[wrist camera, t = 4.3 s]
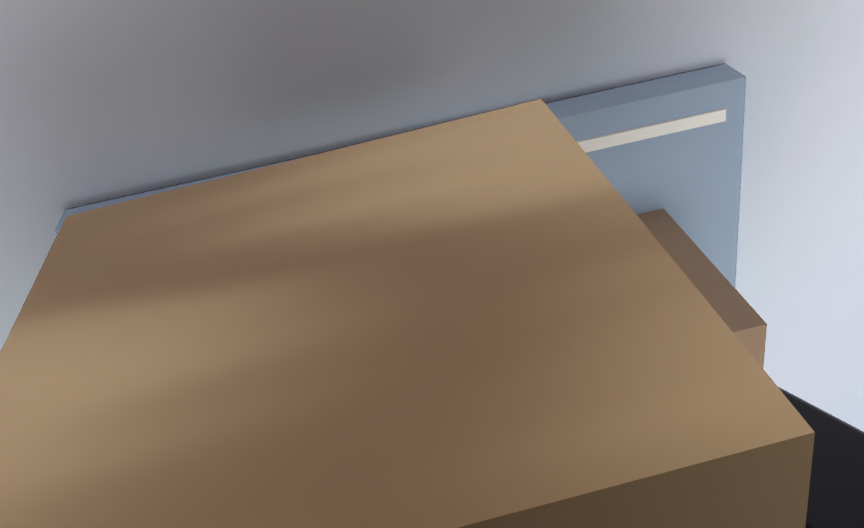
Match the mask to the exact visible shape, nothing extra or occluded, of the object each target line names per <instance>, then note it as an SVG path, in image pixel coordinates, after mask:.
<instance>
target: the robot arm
mask: <svg viewBox="0 0 864 528" xmlns="http://www.w3.org/2000/svg"><path fill="white" fill-rule="evenodd" d="M777 387H778V386H777ZM778 388H779V387H778ZM779 389H780V390H781V392H782V393H783V394H784V395H785V396H786V398H787V399H788V400H789V401H790V403H791V404H792V405H793V406H794V407H795V409H796V410H797V411H798V412H799V414H800V415H801V416H802V417H803V418H804V420H805V421H806V422H807V423H808V425H809V426H810V427H811V428H812V429H813V431H814V432H815V436H814V446H813V456H812V466H811V476H810V486H809V496H808V506H807V516H806V526H805V528H864V432H863V431H861V430H859V429H857V428H855V427H853V426H851V425H849V424H848V423H846V422H844V421H842V420H840V419H838V418H836V417H834V416H832V415H831V414H829V413H827V412H825V411H823V410H821V409H819V408H817V407H815V406H813V405H812V404H810V403H808V402H806V401H804V400H802V399H800V398H798V397H796V396H795V395H793V394H791V393H789V392H787V391H785V390H783V389H781V388H779Z"/></svg>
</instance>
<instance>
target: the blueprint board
mask: <svg viewBox="0 0 864 528" xmlns="http://www.w3.org/2000/svg"><path fill="white" fill-rule="evenodd" d="M745 85H746V77H745V76H744V75H742V74H741V73H739V72H738V71H736V70H734V69H733V68H731V67H730V66H728V65H727V64H722V65H718V66H713V67H709V68H704V69H700V70H695V71H691V72H686V73H681V74H677V75H672V76H668V77H663V78H659V79H654V80H650V81H645V82H641V83H636V84H632V85H627V86H623V87H618V88H614V89H609V90H605V91H600V92H596V93H591V94H587V95H582V96H578V97H573V98H569V99H564V100H560V101H555V102H550V103H546V105H547V107H548V108H549V109H550V110H551V111H552V113H553V114H554V115H555V116H556V117H557V119H558V120H559V121H560V122H561V124H562V125H563V126H564V127H565V128H566V130H567V131H568V132H569V133H570V135H571V136H572V137H573V138H574V139H575V141H576V142H577V143H578V144H579V145H580V147H581V148H582V149H583V150H584V152H585V153H586V154H587V155H588V156H589V158H590V159H591V160H592V161H593V163H594V164H595V165H596V166H597V167H598V169H599V170H600V171H601V172H602V174H603V175H604V176H605V177H606V178H607V180H608V181H609V182H610V183H611V184H612V186H613V187H614V188H615V189H616V191H617V192H618V193H619V194H620V195H621V197H622V198H623V199H624V200H625V202H626V203H627V204H628V205H629V206H630V208H631V209H632V210H633V211H634V213H635V214H636V215H637V216H638V217H639V219H640V220H641V221H642V222H643V223H644V225H645V226H646V227H647V228H648V230H649V231H650V232H651V233H652V234H653V236H654V237H655V238H656V239H657V241H658V242H659V243H660V244H661V245H662V247H663V248H664V249H665V250H666V251H667V253H668V254H669V255H670V256H671V258H672V259H673V260H674V261H675V262H676V264H677V265H678V266H679V267H680V269H681V270H682V271H683V272H684V273H685V275H686V276H687V277H688V278H689V280H690V281H691V282H692V283H693V284H694V286H695V287H696V288H697V289H698V290H699V292H700V293H701V294H702V295H703V297H704V298H705V299H706V300H707V301H708V303H709V304H710V305H711V306H712V308H713V309H714V310H715V311H716V312H717V314H718V315H719V316H720V317H721V319H722V320H723V321H724V322H725V323H726V325H727V326H728V327H729V328H730V329H731V331H732V332H733V333H734V334H735V336H736V337H737V338H738V339H739V340H740V342H741V343H742V344H743V345H744V347H745V348H746V349H747V350H748V351H749V353H750V354H751V355H752V356H753V357H754V359H755V360H756V361H757V362H758V364H759V365H760V366H761V367H762V368H763V364H764V352H765V339H766V327H767V324H766V323H765V322H764V321H763V319H762V318H761V317H760V316H759V315H758V314H757V313H756V312H755V310H754V309H753V308H752V307H751V306H750V305H749V304H748V303H747V301H746V300H745V299H744V298H743V297H742V296H741V295H740V294H739V292H738V291H737V290H736V289H735V280H736V260H737V241H738V221H739V202H740V182H741V163H742V144H743V124H744V105H745ZM311 156H312V155H311ZM307 157H308V156H307ZM302 158H304V157H302ZM297 159H300V158H297ZM293 160H296V159H293ZM288 161H292V160H288ZM288 161H284V162H288ZM284 162H279V163H275V164H270V165H266V166H261V167H257V168H252V169H248V170H243V171H239V172H234V173H230V174H225V175H221V176H216V177H212V178H207V179H203V180H198V181H194V182H189V183H185V184H180V185H176V186H171V187H166V188H162V189H157V190H153V191H148V192H144V193H139V194H135V195H130V196H126V197H121V198H117V199H112V200H108V201H103V202H99V203H94V204H90V205H85V206H81V207H76V208H72V209H67V210H65V212H64V214H63V216H62V218H61V220H60V222H59V224H58V226H57V228H56V230H55V231H56V233H57V235H58V233H59V231H60V229H61V227H62V225H63V223H64V220H65V218H66V216H70V215H74V214H78V213H82V212H86V211H90V210H94V209H98V208H102V207H106V206H110V205H114V204H118V203H122V202H126V201H130V200H134V199H138V198H142V197H146V196H150V195H154V194H158V193H162V192H167V191H171V190H175V189H179V188H183V187H187V186H191V185H195V184H199V183H203V182H207V181H211V180H215V179H219V178H223V177H227V176H231V175H235V174H239V173H243V172H247V171H251V170H255V169H259V168H263V167H267V166H271V165H276V164H280V163H284Z"/></svg>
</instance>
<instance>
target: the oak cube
mask: <svg viewBox="0 0 864 528" xmlns="http://www.w3.org/2000/svg"><path fill="white" fill-rule="evenodd" d="M814 436H815V432H814V431H813V429H812V428H811V427H810V426H809V425H808V423H807V422H806V421H805V420H804V418H803V417H802V416H801V415H800V414H799V412H798V411H797V410H796V409H795V407H794V406H793V405H792V404H791V403H790V401H789V400H788V399H787V398H786V396H785V395H784V394H783V393H782V392H781V390H780V389H779V388H778V387H777V386H776V384H775V383H774V382H773V381H772V379H771V378H770V377H769V376H768V375H767V373H766V372H765V371H764V370H763V368H762V367H761V366H760V365H759V364H758V362H757V361H756V360H755V359H754V357H753V356H752V355H751V354H750V353H749V351H748V350H747V349H746V348H745V347H744V345H743V344H742V343H741V342H740V340H739V339H738V338H737V337H736V336H735V334H734V333H733V332H732V331H731V329H730V328H729V327H728V326H727V325H726V323H725V322H724V321H723V320H722V319H721V317H720V316H719V315H718V314H717V312H716V311H715V310H714V309H713V308H712V306H711V305H710V304H709V303H708V301H707V300H706V299H705V298H704V297H703V295H702V294H701V293H700V292H699V290H698V289H697V288H696V287H695V286H694V284H693V283H692V282H691V281H690V280H689V278H688V277H687V276H686V275H685V273H684V272H683V271H682V270H681V269H680V267H679V266H678V265H677V264H676V262H675V261H674V260H673V259H672V258H671V256H670V255H669V254H668V253H667V251H666V250H665V249H664V248H663V247H662V245H661V244H660V243H659V242H658V241H657V239H656V238H655V237H654V236H653V234H652V233H651V232H650V231H649V230H648V228H647V227H646V226H645V225H644V223H643V222H642V221H641V220H640V219H639V217H638V216H637V215H636V214H635V213H634V211H633V210H632V209H631V208H630V206H629V205H628V204H627V203H626V202H625V200H624V199H623V198H622V197H621V195H620V194H619V193H618V192H617V191H616V189H615V188H614V187H613V186H612V184H611V183H610V182H609V181H608V180H607V178H606V177H605V176H604V175H603V174H602V172H601V171H600V170H599V169H598V167H597V166H596V165H595V164H594V163H593V161H592V160H591V159H590V158H589V156H588V155H587V154H586V153H585V152H584V150H583V149H582V148H581V147H580V145H579V144H578V143H577V142H576V141H575V139H574V138H573V137H572V136H571V135H570V133H569V132H568V131H567V130H566V128H565V127H564V126H563V125H562V124H561V122H560V121H559V120H558V119H557V117H556V116H555V115H554V114H553V113H552V111H551V110H550V109H549V108H548V107H547V105H546V104H545V103H544V102H543V100H542V99H538V100H534V101H530V102H526V103H522V104H518V105H514V106H510V107H506V108H502V109H498V110H494V111H490V112H485V113H481V114H477V115H473V116H469V117H465V118H461V119H457V120H453V121H449V122H445V123H441V124H437V125H433V126H429V127H425V128H421V129H417V130H413V131H409V132H405V133H401V134H397V135H393V136H389V137H385V138H381V139H376V140H372V141H368V142H364V143H360V144H356V145H352V146H348V147H344V148H340V149H336V150H332V151H328V152H324V153H320V154H316V155H312V156H308V157H304V158H300V159H296V160H292V161H288V162H284V163H280V164H276V165H271V166H267V167H263V168H259V169H255V170H251V171H247V172H243V173H239V174H235V175H231V176H227V177H223V178H219V179H215V180H211V181H207V182H203V183H199V184H195V185H191V186H187V187H183V188H179V189H175V190H171V191H167V192H162V193H158V194H154V195H150V196H146V197H142V198H138V199H134V200H130V201H126V202H122V203H118V204H114V205H110V206H106V207H102V208H98V209H94V210H90V211H86V212H82V213H78V214H74V215H70V216H66V218H65V220H64V223H63V225H62V227H61V229H60V231H59V233H58V235H57V237H56V239H55V241H54V243H53V245H52V247H51V249H50V251H49V253H48V255H47V257H46V260H45V262H44V264H43V266H42V268H41V270H40V272H39V274H38V276H37V278H36V280H35V282H34V284H33V286H32V288H31V290H30V292H29V295H28V297H27V299H26V301H25V303H24V305H23V307H22V309H21V311H20V313H19V315H18V317H17V319H16V321H15V323H14V325H13V327H12V329H11V332H10V334H9V336H8V338H7V340H6V342H5V344H4V346H3V348H2V350H1V352H0V528H805V526H806V516H807V506H808V496H809V486H810V476H811V466H812V456H813V446H814Z"/></svg>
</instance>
